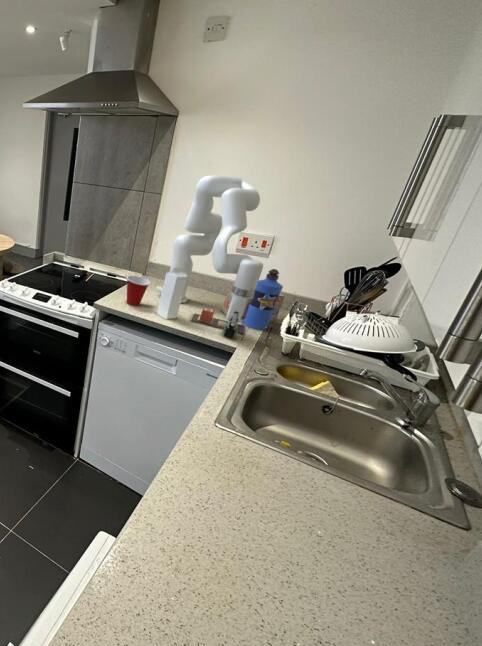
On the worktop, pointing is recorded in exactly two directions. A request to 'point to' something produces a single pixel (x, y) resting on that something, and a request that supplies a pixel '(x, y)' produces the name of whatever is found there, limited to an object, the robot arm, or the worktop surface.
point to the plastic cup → (136, 289)
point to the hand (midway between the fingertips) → (228, 334)
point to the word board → (216, 323)
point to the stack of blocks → (229, 298)
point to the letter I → (226, 327)
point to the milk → (172, 293)
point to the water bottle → (263, 301)
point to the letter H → (207, 314)
